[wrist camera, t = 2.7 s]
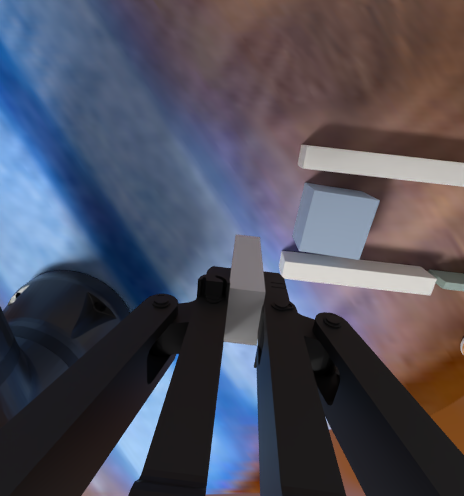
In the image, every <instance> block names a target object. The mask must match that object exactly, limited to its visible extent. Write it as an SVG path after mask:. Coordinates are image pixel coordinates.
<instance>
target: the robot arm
mask: <svg viewBox="0 0 464 496" xmlns="http://www.w3.org/2000/svg"><path fill="white" fill-rule="evenodd" d="M257 339H258V347H257V352H256V358H255V364H254V368H257V397H258V431H259V465H260V496H346V494H345V490H344V486H343V482H342V479H341V475H340V471H339V467H338V463H337V460H336V456H335V452H334V448H333V444H332V441H331V437H330V433H329V429H328V426H327V422H326V419H327V421H328V423H329V425H330V427H331V429H332V431H333V433H334V434H335V436H336V438H337V440H338V442H339V444H340V446H341V448H342V450H343V452H344V454H345V456H346V458H347V460H348V462H349V463H350V466H351V467H352V470H353V471H354V473H355V475H356V477H357V479H358V481H359V483H360V485H361V487H362V489H363V491H364V493H365V495H366V496H464V455H463V454H462V453H461V451H460V450H459V449H457V447H456V446H455V445H454V443H453V442H452V441H451V440H450V439H449V438H448V437H447V436H446V435H445V433H444V432H443V431H442V430H441V429H440V428H439V426H438V425H437V424H436V423H435V422H434V421H433V419H432V418H431V417H430V416H429V415H428V414H427V413H426V411H425V410H424V409H423V408H422V407H421V406H420V405H419V403H418V402H417V401H416V400H415V399H414V398H413V397H412V395H411V394H410V393H409V392H408V391H407V390H406V389H405V387H404V386H403V385H402V384H401V383H400V382H399V381H398V379H397V378H396V377H395V376H394V375H393V374H392V372H391V371H390V370H389V369H388V368H387V367H386V366H385V364H384V363H383V362H382V361H381V360H380V359H379V358H378V356H377V355H376V354H375V353H374V352H373V351H372V350H371V348H370V347H369V346H368V345H367V344H366V343H365V342H364V340H363V339H362V338H361V337H360V336H359V335H358V334H357V332H356V331H355V330H354V329H353V328H352V327H351V326H350V324H349V323H348V322H347V321H346V320H344V319H343V318H342V317H340V316H338V315H336V314H333V313H325V312H324V313H319V314H318V315H316V318H315V320H314V319H311V318H308V317H305V316H302V315H300V314H299V313H297V309H296V307H295V305H294V304H292V303H291V302H290V301H289V297H288V293H287V289H286V285H285V280H284V278H283V277H282V276H281V275H280V274H279V273H272V272H263V263H262V254H261V244H260V237H253V236H245V235H236V236H235V244H234V252H233V259H232V267H231V268H223V267H215V266H213V267H211V268H210V269H209V270H208V271H207V274H206V275H203V276H201V277H200V278H199V279H198V290H197V298H196V300H194V301H192V302H189V303H180V304H178V301H177V299H176V298H175V297H174V296H171V295H168V294H156V295H153V296H150V297H149V298H147V299H146V300H145V301H143V302H142V303H141V304H140V305H139V306H138V307H137V308H136V309H134V310H133V311H132V312H131V313H130V312H129V310H128V308H127V306H126V305H125V303H124V302H123V300H122V299H121V298H120V297H119V296H118V294H117V293H116V292H115V291H113V290H112V289H111V288H110V287H109V286H107V285H106V284H104V283H103V282H101V281H99V280H98V279H96V278H94V277H91V276H89V275H86V274H83V273H80V272H75V271H67V270H58V271H51V272H47V273H44V274H41V275H39V276H37V277H35V278H34V279H32V280H31V281H29V282H28V283H26V284H25V285H24V286H22V287H21V288H20V289H19V290H18V291H17V292H16V293H15V294H14V295H13V296H12V298H11V299H10V301H9V303H8V305H7V306H6V308H5V309H4V310H3V311H2V309H1V307H0V496H81V495H82V494H83V492H84V491H85V489H86V488H87V487H88V485H89V484H90V482H91V481H92V479H93V478H94V476H95V475H96V473H97V472H98V470H99V469H100V467H101V466H102V465H103V463H104V462H105V460H106V459H107V457H108V456H109V454H110V453H111V451H112V450H113V448H114V447H115V446H116V444H117V443H118V441H119V440H120V438H121V437H122V435H123V434H124V432H125V431H126V429H127V428H128V426H129V425H130V424H131V422H132V421H133V419H134V418H135V416H136V415H137V413H138V412H139V410H140V409H141V407H142V406H143V404H144V403H145V402H146V400H147V399H148V397H149V396H150V394H151V393H152V391H153V390H154V388H155V387H156V385H157V384H158V382H159V381H160V380H161V378H162V377H163V375H164V374H165V372H166V371H167V369H168V368H169V366H170V365H171V363H172V362H173V361H174V359H175V356H176V354H179V356H178V359H177V362H176V366H175V369H174V372H173V375H172V378H171V382H170V385H169V388H168V391H167V394H166V398H165V401H164V404H163V407H162V410H161V414H160V417H159V420H158V423H157V426H156V430H155V433H154V436H153V439H152V442H151V446H150V449H149V452H148V455H147V458H146V462H145V465H144V468H143V471H142V474H141V476H140V478H139V479H138V480H137V481H135V482H134V484H133V486H132V488H131V490H130V493H129V495H128V496H205V495H206V486H207V478H208V469H209V461H210V452H211V444H212V435H213V427H214V418H215V410H216V401H217V393H218V384H219V376H220V367H221V359H222V350H223V342H231V343H239V344H247V345H255V346H256V345H257ZM325 417H326V418H325Z"/></svg>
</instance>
